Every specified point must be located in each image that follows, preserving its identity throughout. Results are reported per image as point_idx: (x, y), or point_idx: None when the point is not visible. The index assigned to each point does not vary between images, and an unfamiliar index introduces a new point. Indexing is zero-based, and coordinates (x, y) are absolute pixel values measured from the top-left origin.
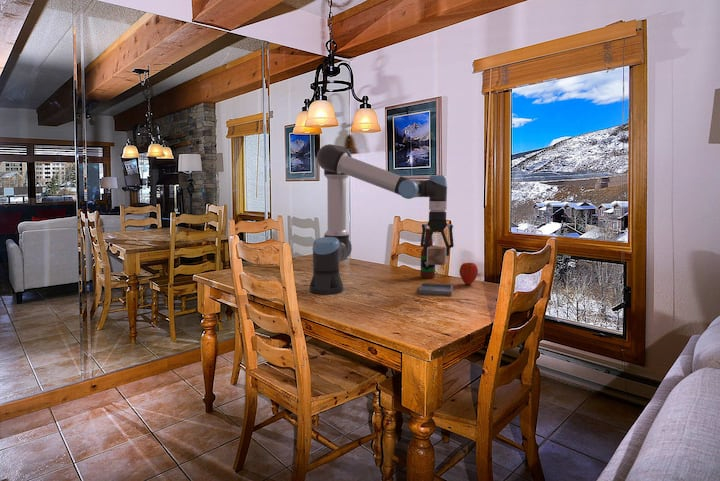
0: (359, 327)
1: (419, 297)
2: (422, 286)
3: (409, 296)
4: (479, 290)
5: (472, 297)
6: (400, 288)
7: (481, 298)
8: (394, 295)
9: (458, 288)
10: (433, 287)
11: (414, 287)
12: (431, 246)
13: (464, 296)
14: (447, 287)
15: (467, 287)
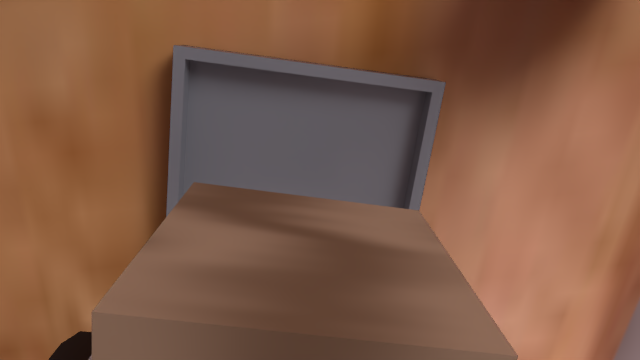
0: None
1: None
2: (187, 101)
3: None
4: (628, 132)
5: (519, 322)
6: (11, 128)
7: (568, 337)
8: (10, 329)
9: (483, 81)
10: (280, 116)
11: (122, 81)
12: (145, 325)
13: None
14: (395, 104)
15: (566, 37)
